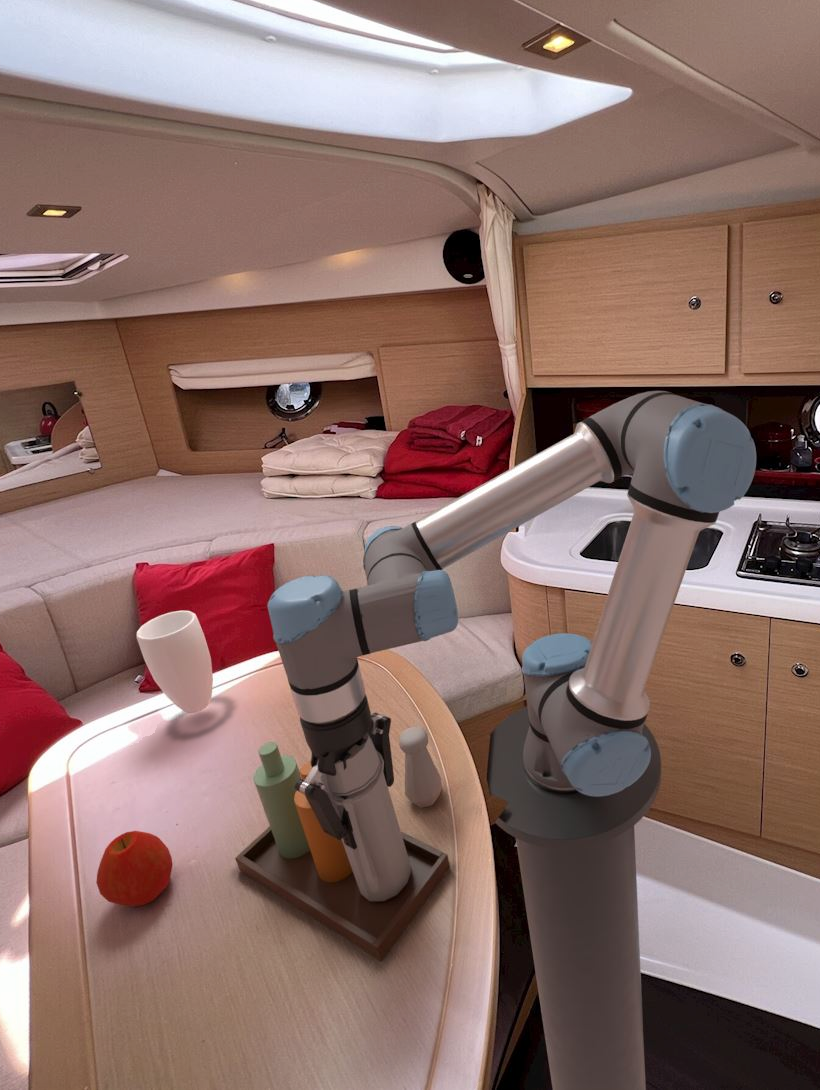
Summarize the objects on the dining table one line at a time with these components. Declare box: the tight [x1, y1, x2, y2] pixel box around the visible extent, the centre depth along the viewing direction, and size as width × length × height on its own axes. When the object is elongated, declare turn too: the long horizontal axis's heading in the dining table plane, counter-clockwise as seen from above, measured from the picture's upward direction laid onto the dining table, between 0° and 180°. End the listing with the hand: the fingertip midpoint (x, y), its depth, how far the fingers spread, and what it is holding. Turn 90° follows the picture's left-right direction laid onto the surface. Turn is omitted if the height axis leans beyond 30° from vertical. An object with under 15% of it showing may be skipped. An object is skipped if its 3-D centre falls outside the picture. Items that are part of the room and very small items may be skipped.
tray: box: [234, 825, 451, 962], centre depth 85 cm, size 28×14×3 cm, turn 61°
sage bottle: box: [253, 741, 310, 859], centre depth 86 cm, size 6×6×18 cm
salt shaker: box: [398, 725, 443, 809], centre depth 93 cm, size 6×6×13 cm
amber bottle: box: [294, 760, 353, 883], centre depth 82 cm, size 6×6×18 cm
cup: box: [136, 610, 214, 714], centre depth 114 cm, size 10×10×22 cm
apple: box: [95, 830, 173, 907], centre depth 82 cm, size 8×8×11 cm
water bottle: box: [321, 732, 412, 901], centre depth 77 cm, size 9×8×25 cm
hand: (372, 847), depth 78 cm, fingers open, 2 cm apart
